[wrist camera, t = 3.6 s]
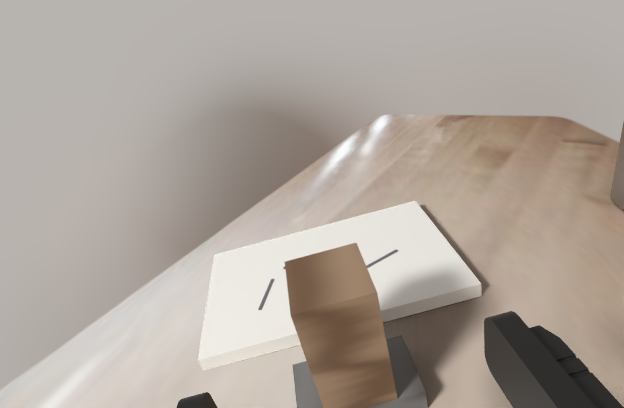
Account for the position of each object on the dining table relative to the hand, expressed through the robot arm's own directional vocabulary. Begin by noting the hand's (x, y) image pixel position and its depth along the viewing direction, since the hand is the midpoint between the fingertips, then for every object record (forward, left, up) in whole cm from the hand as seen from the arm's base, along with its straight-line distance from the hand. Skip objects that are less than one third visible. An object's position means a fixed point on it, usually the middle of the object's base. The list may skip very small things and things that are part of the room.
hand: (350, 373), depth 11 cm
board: (-18, -18, -18) cm, 31 cm away
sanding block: (-8, -8, -18) cm, 21 cm away
